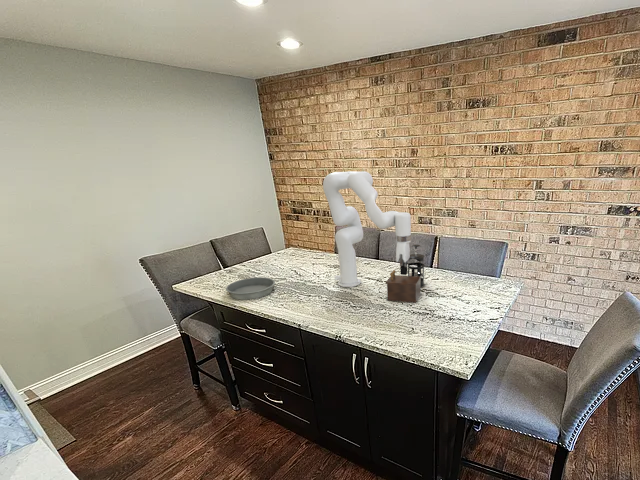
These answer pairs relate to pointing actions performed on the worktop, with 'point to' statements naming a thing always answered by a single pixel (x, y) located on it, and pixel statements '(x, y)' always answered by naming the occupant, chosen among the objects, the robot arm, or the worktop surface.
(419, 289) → the caddy
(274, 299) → the worktop surface
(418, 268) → the french press
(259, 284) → the cake pan
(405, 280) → the lid
